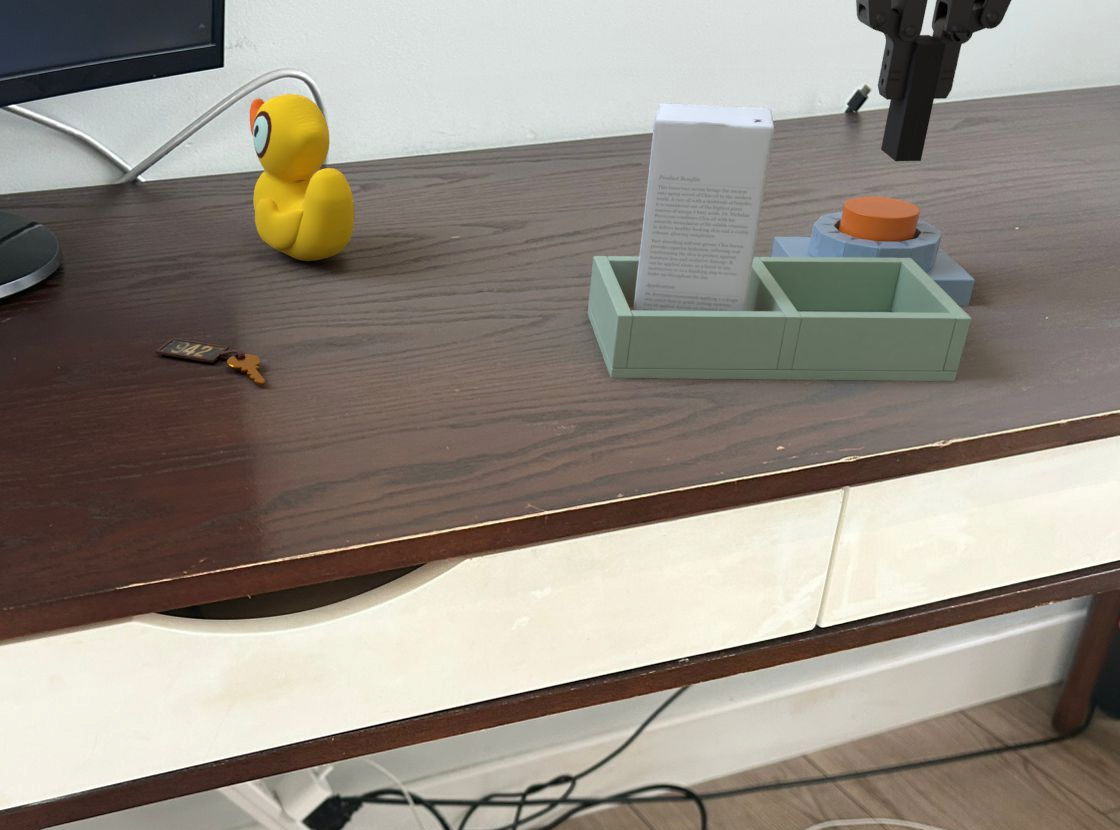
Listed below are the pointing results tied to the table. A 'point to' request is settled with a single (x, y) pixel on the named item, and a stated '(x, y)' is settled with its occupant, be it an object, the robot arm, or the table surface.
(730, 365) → the tray
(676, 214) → the cosmetic box
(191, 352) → the key tag
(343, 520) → the table surface
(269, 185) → the duckling
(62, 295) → the table surface
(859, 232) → the button
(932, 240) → the button base
